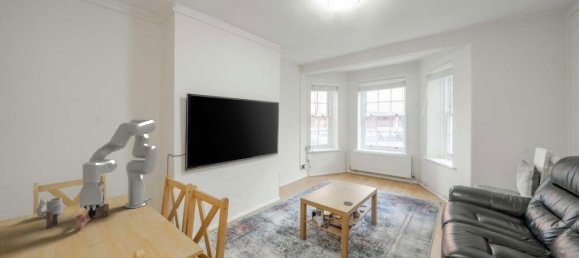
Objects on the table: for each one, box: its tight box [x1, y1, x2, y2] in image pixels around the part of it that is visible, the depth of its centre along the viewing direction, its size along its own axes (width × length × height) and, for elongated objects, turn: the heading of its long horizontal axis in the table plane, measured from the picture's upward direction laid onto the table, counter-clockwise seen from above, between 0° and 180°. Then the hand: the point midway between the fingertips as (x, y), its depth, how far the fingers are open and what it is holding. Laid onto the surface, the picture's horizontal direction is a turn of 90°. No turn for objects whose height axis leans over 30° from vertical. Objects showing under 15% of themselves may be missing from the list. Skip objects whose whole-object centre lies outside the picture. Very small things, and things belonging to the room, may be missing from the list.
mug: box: [35, 197, 65, 218], centre depth 135 cm, size 8×12×12 cm, turn 162°
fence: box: [45, 203, 110, 230], centre depth 131 cm, size 26×4×8 cm, turn 133°
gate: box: [75, 208, 92, 231], centre depth 126 cm, size 14×2×7 cm, turn 23°
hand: (92, 216), depth 125 cm, fingers closed
